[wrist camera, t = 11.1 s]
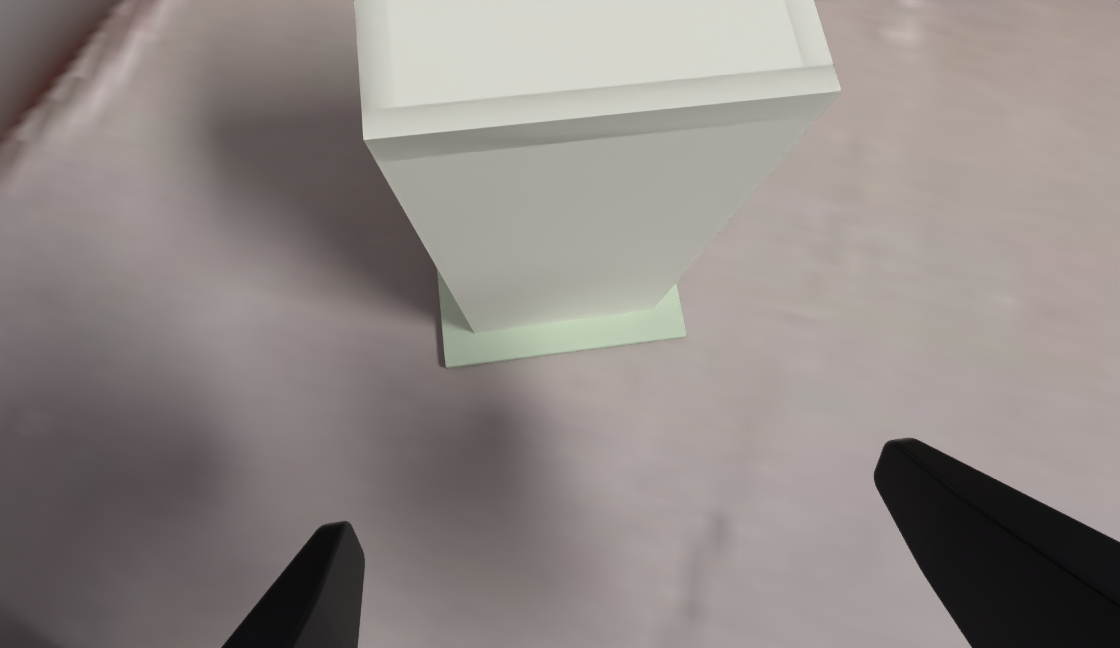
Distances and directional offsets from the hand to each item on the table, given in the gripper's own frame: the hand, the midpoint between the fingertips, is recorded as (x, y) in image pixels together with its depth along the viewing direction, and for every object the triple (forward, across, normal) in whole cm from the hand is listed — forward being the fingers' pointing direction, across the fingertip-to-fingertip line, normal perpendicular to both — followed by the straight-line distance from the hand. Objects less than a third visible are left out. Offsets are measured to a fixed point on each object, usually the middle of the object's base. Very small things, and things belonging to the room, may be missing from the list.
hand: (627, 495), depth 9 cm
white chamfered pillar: (+11, 0, 0) cm, 11 cm away
